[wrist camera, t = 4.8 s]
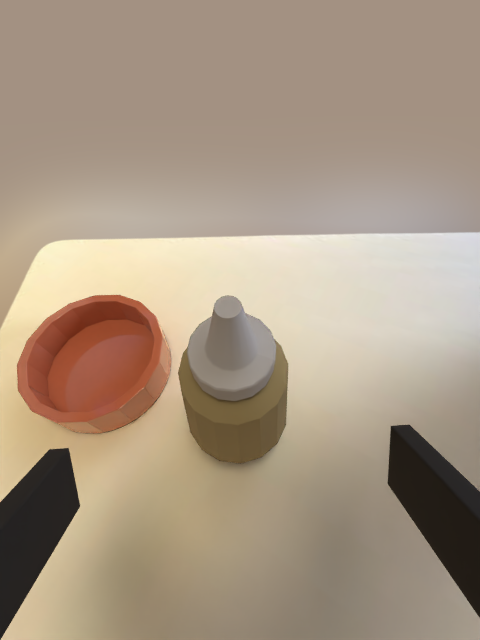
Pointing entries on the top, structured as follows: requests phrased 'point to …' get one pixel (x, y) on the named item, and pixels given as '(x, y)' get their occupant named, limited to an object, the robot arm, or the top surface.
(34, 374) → the holder
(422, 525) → the robot arm
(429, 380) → the top surface
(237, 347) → the squeeze bottle
